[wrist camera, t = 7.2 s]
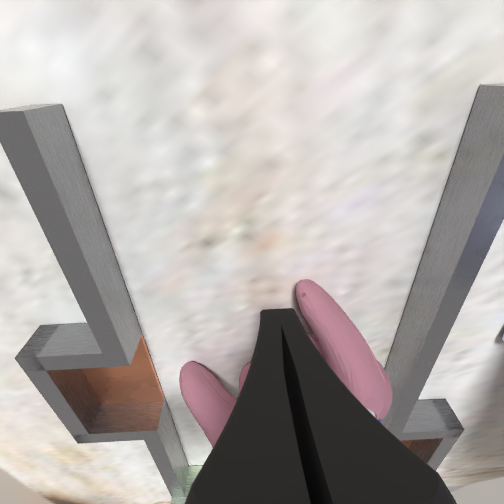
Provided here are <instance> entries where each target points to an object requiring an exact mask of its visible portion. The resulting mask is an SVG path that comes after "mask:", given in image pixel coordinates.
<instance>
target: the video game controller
mask: <svg viewBox="0 0 504 504" xmlns="http://www.w3.org/2000/svg"><path fill="white" fill-rule="evenodd" d="M296 297H297V301H298V304H299V307H300V310H301V313H302V315H303V316H304V318H305V320H306V321H307V323H308V324H309V326H310V328H311V329H312V331H313V333H314V334H315V335H313V334H308V333H307V334H308V336H309V337H310V339H311V340H312V342H313V343H314V345H315V346H316V348H317V349H318V351H319V352H320V354H321V355H322V357H323V358H324V359H325V361H326V362H327V363H328V365H329V366H330V367H331V369H332V370H333V371H334V372H335V374H336V375H337V376H338V377H339V379H340V380H341V381H342V382H343V383H344V385H345V386H346V387H347V388H348V389H349V390H350V392H351V393H352V394H353V395H354V396H355V397H356V398H357V399H358V400H359V401H360V402H361V404H362V405H363V406H364V407H365V408H366V409H367V410H368V411H369V412H370V413H371V414H372V415H373V416H374V417H375V418H376V419H377V420H378V421H379V422H380V423H381V421H382V420H383V419H384V417H385V416H386V415H387V413H388V411H389V409H390V406H391V404H392V394H393V393H392V387H391V383H390V380H389V377H388V375H387V373H386V371H385V370H384V368H383V367H382V365H381V364H380V363H379V362H378V361H377V360H376V358H375V356H374V355H373V353H372V351H371V349H370V347H369V346H368V344H367V342H366V341H365V339H364V338H363V336H362V335H361V333H360V332H359V330H358V329H357V328H356V326H355V325H354V324H353V323H352V321H351V320H350V319H349V317H348V316H347V315H346V313H345V312H344V311H343V310H342V309H341V307H340V306H339V305H338V304H337V303H336V302H335V300H334V299H333V298H332V297H331V296H330V295H329V294H328V293H327V292H326V291H325V290H324V289H322V288H321V287H320V286H319V285H318V284H316V283H315V282H313V281H311V280H308V279H306V280H301V281H299V282H298V283H297V285H296ZM250 364H251V362H250V363H248V364H246V365H245V366H244V367H243V369H242V371H241V374H240V380H239V394H240V392H241V389H242V387H243V384H244V382H245V379H246V376H247V373H248V370H249V367H250ZM179 382H180V389H181V393H182V396H183V398H184V400H185V402H186V404H187V406H188V408H189V409H190V411H191V413H192V414H193V416H194V417H195V419H196V420H197V422H198V423H199V425H200V426H201V428H202V429H203V431H204V432H205V434H206V436H207V438H208V440H209V441H210V443H211V445H212V447H213V448H214V446H215V444H216V442H217V440H218V438H219V436H220V434H221V432H222V430H223V429H224V427H225V425H226V423H227V421H228V419H229V417H230V415H231V412H232V410H233V408H234V406H235V403H236V401H237V399H238V398H236V397H234V396H233V395H232V394H231V393H230V392H229V391H228V390H226V388H225V387H224V386H223V385H222V384H221V383H220V382H219V380H218V379H217V378H216V377H215V376H214V375H213V374H212V373H211V372H210V371H208V370H207V369H206V368H205V367H204V366H202V365H200V364H198V363H196V362H189V363H186V364H185V365H184V366H183V367H182V369H181V371H180V378H179Z"/></svg>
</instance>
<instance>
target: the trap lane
mask: <svg viewBox="0 0 504 504" xmlns="http://www.w3.org/2000/svg"><path fill="white" fill-rule="evenodd" d="M0 143H1V145H2V147H3V149H4V151H5V153H6V155H7V157H8V159H9V161H10V163H11V165H12V167H13V169H14V172H15V174H16V176H17V178H18V180H19V182H20V184H21V186H22V188H23V190H24V192H25V194H26V196H27V198H28V200H29V203H30V205H31V207H32V209H33V211H34V213H35V215H36V217H37V219H38V221H39V223H40V225H41V227H42V229H43V232H44V234H45V236H46V238H47V240H48V242H49V244H50V246H51V248H52V250H53V252H54V254H55V256H56V258H57V261H58V263H59V265H60V267H61V269H62V271H63V273H64V275H65V277H66V279H67V281H68V283H69V285H70V287H71V289H72V292H73V294H74V296H75V298H76V300H77V302H78V304H79V306H80V308H81V310H82V312H83V314H84V316H85V318H86V321H87V323H76V324H57V325H40V326H39V328H38V329H37V330H36V331H35V333H34V334H33V335H32V337H31V338H30V339H29V340H28V342H27V343H26V344H25V345H24V347H23V348H22V349H21V351H20V352H19V353H18V354H17V356H16V357H15V360H16V361H17V362H18V364H19V365H20V366H21V368H22V369H23V370H24V372H25V373H26V374H27V376H28V377H29V378H30V380H31V381H32V382H33V384H34V385H35V386H36V388H37V389H38V390H39V392H40V393H41V394H42V396H43V397H44V399H45V400H46V401H47V403H48V404H49V405H50V407H51V408H52V409H53V411H54V412H55V413H56V415H57V416H58V417H59V419H60V420H61V421H62V423H63V424H64V425H65V427H66V428H67V429H68V431H69V432H70V434H71V435H72V436H73V438H74V439H75V440H76V442H77V443H95V442H113V441H130V440H144V441H145V443H146V445H147V447H148V449H149V451H150V453H151V455H152V457H153V459H154V461H155V463H156V465H157V467H158V470H159V472H160V474H161V476H162V478H163V480H164V482H165V484H166V486H167V488H168V490H169V492H170V494H171V496H172V499H171V504H185V501H186V499H187V496H188V493H189V491H190V488H191V485H192V483H193V481H194V480H195V478H196V476H197V475H198V473H199V471H200V470H201V468H202V466H203V465H202V466H188V463H187V460H186V457H185V455H184V452H183V449H182V446H181V443H180V440H179V437H178V435H177V432H176V429H175V426H174V423H173V420H172V417H171V415H170V412H169V409H168V406H167V403H166V400H165V397H164V395H163V392H162V389H161V386H160V383H159V380H158V377H157V375H156V372H155V369H154V366H153V363H152V360H151V358H150V355H149V352H148V349H147V346H146V343H145V340H144V338H143V335H142V332H141V329H140V326H139V323H138V320H137V318H136V315H135V312H134V309H133V306H132V303H131V300H130V298H129V295H128V292H127V289H126V286H125V283H124V280H123V278H122V275H121V272H120V269H119V266H118V263H117V260H116V258H115V255H114V252H113V249H112V246H111V243H110V240H109V238H108V235H107V232H106V229H105V226H104V223H103V221H102V218H101V215H100V212H99V209H98V206H97V203H96V201H95V198H94V195H93V192H92V189H91V186H90V183H89V181H88V178H87V175H86V172H85V169H84V166H83V163H82V161H81V158H80V155H79V152H78V149H77V146H76V143H75V141H74V138H73V135H72V132H71V129H70V126H69V123H68V121H67V118H66V115H65V112H64V109H63V106H62V104H45V105H29V106H23V107H17V108H11V109H5V110H0ZM503 219H504V84H485V85H480V87H479V90H478V93H477V96H476V99H475V102H474V105H473V108H472V111H471V114H470V117H469V120H468V123H467V126H466V129H465V131H464V134H463V137H462V140H461V143H460V146H459V149H458V152H457V155H456V158H455V161H454V164H453V167H452V170H451V173H450V176H449V179H448V182H447V185H446V188H445V191H444V194H443V197H442V200H441V203H440V206H439V209H438V212H437V215H436V218H435V221H434V224H433V227H432V230H431V233H430V236H429V239H428V242H427V245H426V248H425V251H424V254H423V257H422V260H421V263H420V266H419V269H418V272H417V275H416V278H415V281H414V284H413V287H412V290H411V292H410V295H409V298H408V301H407V304H406V307H405V310H404V313H403V316H402V319H401V322H400V325H399V328H398V331H397V334H396V337H395V340H394V343H393V346H392V349H391V352H390V355H389V358H388V361H387V364H386V367H385V371H386V373H387V375H388V377H389V380H390V383H391V387H392V393H393V394H392V404H391V406H390V409H389V411H388V413H387V415H386V416H385V417H384V419H383V420H382V421H381V423H382V424H383V425H384V426H385V427H386V428H387V429H388V430H389V431H390V432H391V433H392V434H393V435H394V436H395V437H396V438H398V439H399V440H400V441H401V442H402V443H403V444H404V445H405V446H406V447H408V448H409V449H410V450H411V451H412V452H413V453H415V454H416V455H417V456H418V457H419V458H420V459H422V460H423V461H424V462H425V463H427V464H428V465H429V466H430V467H431V468H433V469H434V470H435V471H436V469H437V468H438V466H439V465H440V464H441V462H442V461H443V459H444V458H445V456H446V455H447V454H448V452H449V451H450V449H451V448H452V446H453V445H454V444H455V442H456V441H457V439H458V438H459V436H460V435H461V434H462V432H463V431H464V428H463V426H462V425H461V423H460V421H459V420H458V418H457V417H456V415H455V413H454V412H453V410H452V409H451V407H450V406H449V404H448V402H447V401H446V399H433V400H418V398H419V396H420V393H421V391H422V389H423V387H424V385H425V383H426V381H427V379H428V377H429V375H430V372H431V370H432V368H433V366H434V364H435V362H436V360H437V358H438V356H439V354H440V351H441V349H442V347H443V345H444V343H445V341H446V339H447V337H448V335H449V333H450V330H451V328H452V326H453V324H454V322H455V320H456V318H457V316H458V314H459V312H460V309H461V307H462V305H463V303H464V301H465V299H466V297H467V295H468V293H469V291H470V288H471V286H472V284H473V282H474V280H475V278H476V276H477V274H478V272H479V270H480V267H481V265H482V263H483V261H484V259H485V257H486V255H487V253H488V251H489V249H490V246H491V244H492V242H493V240H494V238H495V236H496V234H497V232H498V230H499V228H500V225H501V223H502V221H503Z"/></svg>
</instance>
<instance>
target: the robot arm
mask: <svg viewBox="0 0 504 504" xmlns="http://www.w3.org/2000/svg"><path fill="white" fill-rule="evenodd" d="M502 340H503V341H504V335H503V337H502ZM185 504H457V503H456V501H455V500H454V498H453V496H452V495H451V493H450V491H449V490H448V488H447V486H446V485H445V483H444V482H443V480H442V478H441V477H440V475H439V474H438V473H437V472H436V471H435V470H434V469H433V468H431V467H430V466H429V465H428V464H427V463H425V462H424V461H423V460H422V459H420V458H419V457H418V456H417V455H416V454H415V453H413V452H412V451H411V450H410V449H409V448H408V447H406V446H405V445H404V444H403V443H402V442H401V441H400V440H399V439H398V438H396V437H395V436H394V435H393V434H392V433H391V432H390V431H389V430H388V429H387V428H386V427H385V426H384V425H383V424H382V423H380V422H379V421H378V420H377V419H376V418H375V417H374V416H373V415H372V414H371V413H370V412H369V411H368V410H367V409H366V408H365V407H364V406H363V405H362V404H361V402H360V401H359V400H358V399H357V398H356V397H355V396H354V395H353V394H352V393H351V392H350V390H349V389H348V388H347V387H346V386H345V385H344V383H343V382H342V381H341V380H340V379H339V377H338V376H337V375H336V374H335V372H334V371H333V370H332V369H331V367H330V366H329V365H328V363H327V362H326V361H325V359H324V358H323V357H322V355H321V354H320V352H319V351H318V349H317V348H316V346H315V345H314V343H313V342H312V340H311V339H310V337H309V336H308V334H307V332H306V331H305V329H304V327H303V326H302V324H301V322H300V320H299V318H298V316H297V314H296V312H295V310H294V309H293V308H288V309H268V310H262V311H261V312H260V328H259V334H258V339H257V343H256V347H255V351H254V355H253V358H252V361H251V364H250V367H249V370H248V373H247V376H246V379H245V382H244V384H243V387H242V389H241V392H240V394H239V397H238V399H237V401H236V403H235V406H234V408H233V410H232V412H231V415H230V417H229V419H228V421H227V423H226V425H225V427H224V429H223V430H222V432H221V434H220V436H219V438H218V440H217V442H216V444H215V446H214V448H213V449H212V451H211V453H210V455H209V456H208V458H207V460H206V461H205V463H204V465H203V466H202V468H201V470H200V471H199V473H198V475H197V476H196V478H195V480H194V481H193V483H192V485H191V488H190V491H189V493H188V496H187V499H186V501H185Z"/></svg>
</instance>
